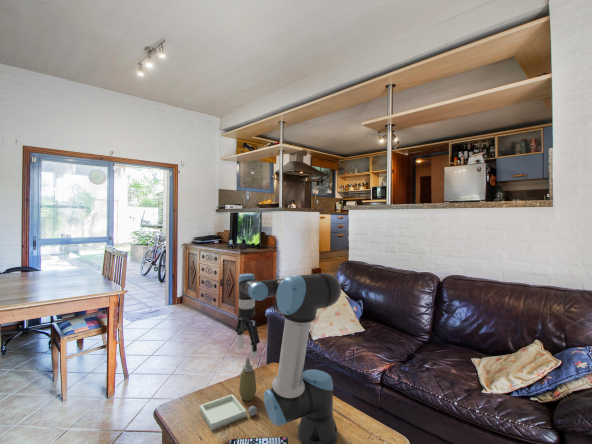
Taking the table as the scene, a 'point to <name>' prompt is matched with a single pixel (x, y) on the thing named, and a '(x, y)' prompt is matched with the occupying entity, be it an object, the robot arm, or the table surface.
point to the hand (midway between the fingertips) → (247, 353)
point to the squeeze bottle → (247, 382)
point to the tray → (222, 411)
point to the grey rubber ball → (252, 411)
